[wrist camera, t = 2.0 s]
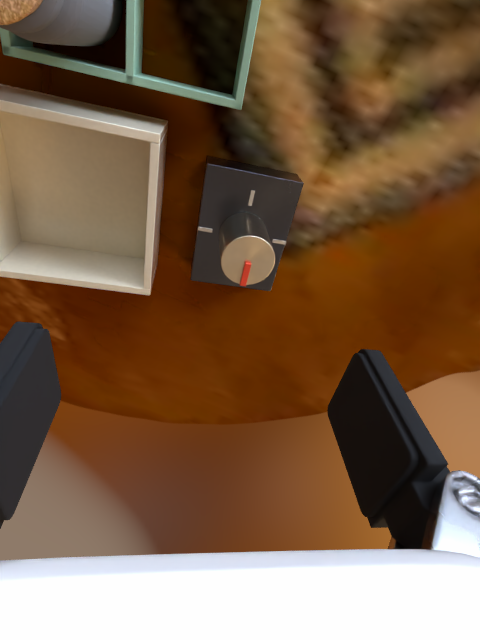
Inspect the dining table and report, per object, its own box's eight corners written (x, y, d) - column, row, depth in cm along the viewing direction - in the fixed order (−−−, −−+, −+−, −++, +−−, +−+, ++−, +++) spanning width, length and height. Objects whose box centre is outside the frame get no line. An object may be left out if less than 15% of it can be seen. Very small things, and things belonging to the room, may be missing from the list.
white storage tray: (-13, 80, 28) (-62, 86, 23) (168, 120, 31) (160, 133, 26) (17, 243, 36) (-14, 274, 31) (157, 263, 39) (150, 295, 34)
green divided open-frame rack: (5, -116, 22) (-29, -144, 19) (261, -34, 25) (269, -47, 22) (26, 54, 27) (3, 54, 24) (237, 104, 30) (241, 110, 27)
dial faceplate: (207, 155, 33) (207, 163, 30) (297, 174, 34) (304, 183, 32) (191, 266, 40) (190, 281, 37) (266, 277, 41) (270, 292, 39)
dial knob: (223, 208, 33) (226, 233, 28) (272, 216, 34) (282, 242, 29) (215, 253, 36) (216, 283, 31) (260, 260, 36) (268, 290, 32)
